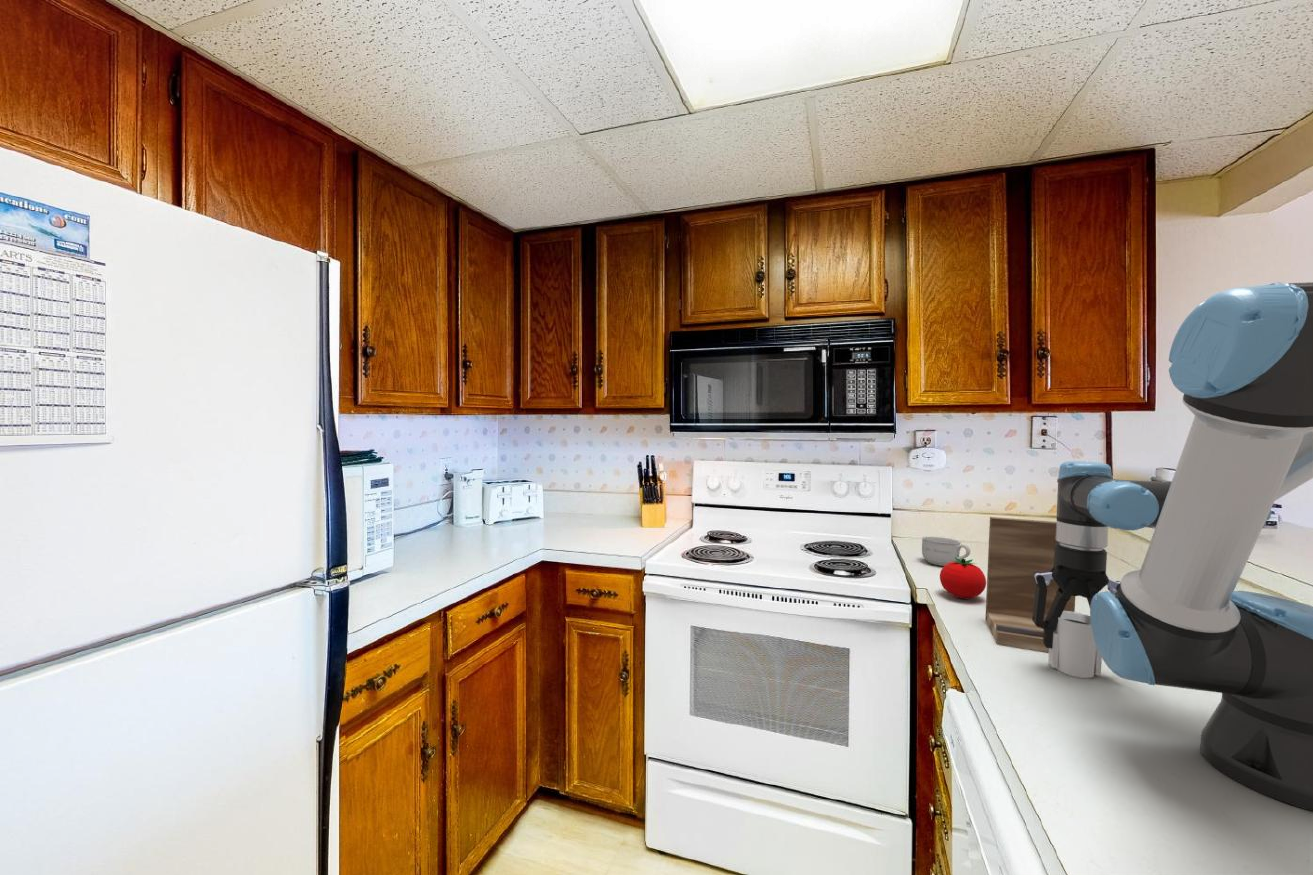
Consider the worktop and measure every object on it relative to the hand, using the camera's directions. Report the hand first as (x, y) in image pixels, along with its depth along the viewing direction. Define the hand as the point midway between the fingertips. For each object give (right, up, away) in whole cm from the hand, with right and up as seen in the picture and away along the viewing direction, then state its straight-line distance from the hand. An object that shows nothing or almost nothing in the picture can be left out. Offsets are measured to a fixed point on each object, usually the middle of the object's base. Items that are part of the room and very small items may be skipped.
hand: (1073, 668), depth 99 cm
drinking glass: (0, -1, 0) cm, 1 cm away
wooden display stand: (+3, 0, +14) cm, 14 cm away
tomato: (+1, +1, +39) cm, 39 cm away
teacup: (+13, +3, +67) cm, 69 cm away
